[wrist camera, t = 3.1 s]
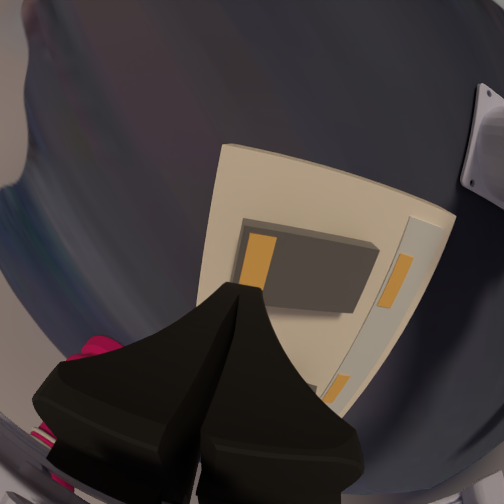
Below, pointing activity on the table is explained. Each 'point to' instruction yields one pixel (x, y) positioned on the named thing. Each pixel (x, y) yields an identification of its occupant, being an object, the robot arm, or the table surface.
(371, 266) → the block
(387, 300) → the switch console
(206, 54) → the table surface
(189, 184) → the table surface
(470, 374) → the table surface
